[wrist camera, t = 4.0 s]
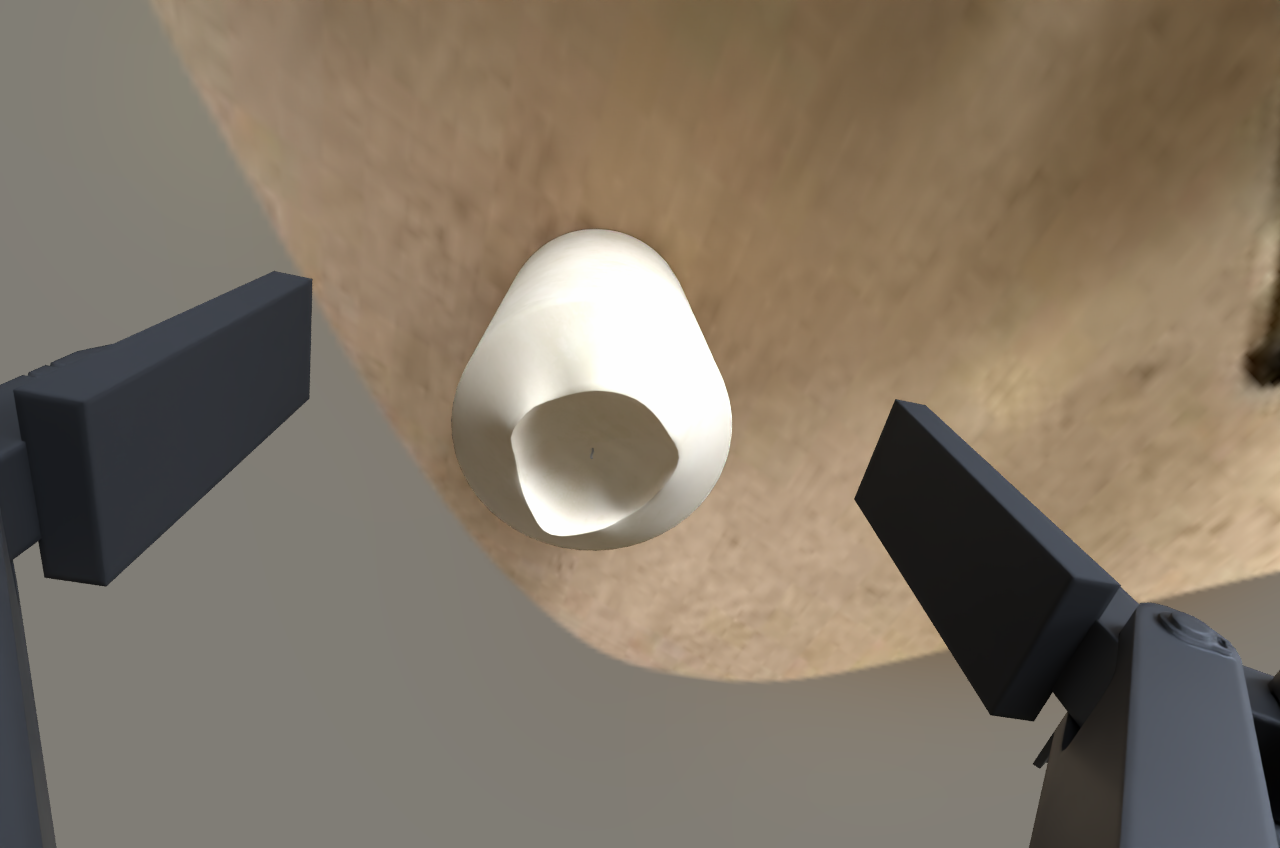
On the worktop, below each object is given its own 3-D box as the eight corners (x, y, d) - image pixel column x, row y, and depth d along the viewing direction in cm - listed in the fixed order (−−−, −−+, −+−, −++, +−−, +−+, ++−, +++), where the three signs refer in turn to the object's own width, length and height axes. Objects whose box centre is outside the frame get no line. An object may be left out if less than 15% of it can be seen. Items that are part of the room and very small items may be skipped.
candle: (614, 428, 23) (621, 639, 13) (474, 333, 21) (374, 500, 12) (721, 300, 21) (810, 442, 12) (577, 186, 19) (552, 249, 10)
